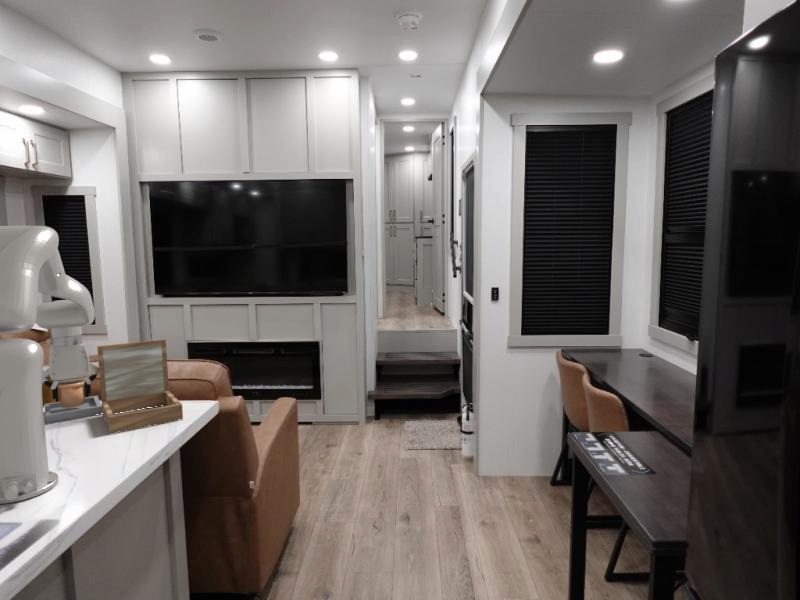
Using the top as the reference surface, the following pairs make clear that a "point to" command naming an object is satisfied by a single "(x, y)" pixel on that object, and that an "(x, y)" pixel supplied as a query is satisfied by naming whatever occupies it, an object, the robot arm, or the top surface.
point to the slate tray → (72, 410)
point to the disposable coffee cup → (47, 390)
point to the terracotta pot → (71, 393)
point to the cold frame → (136, 385)
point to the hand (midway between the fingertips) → (72, 398)
